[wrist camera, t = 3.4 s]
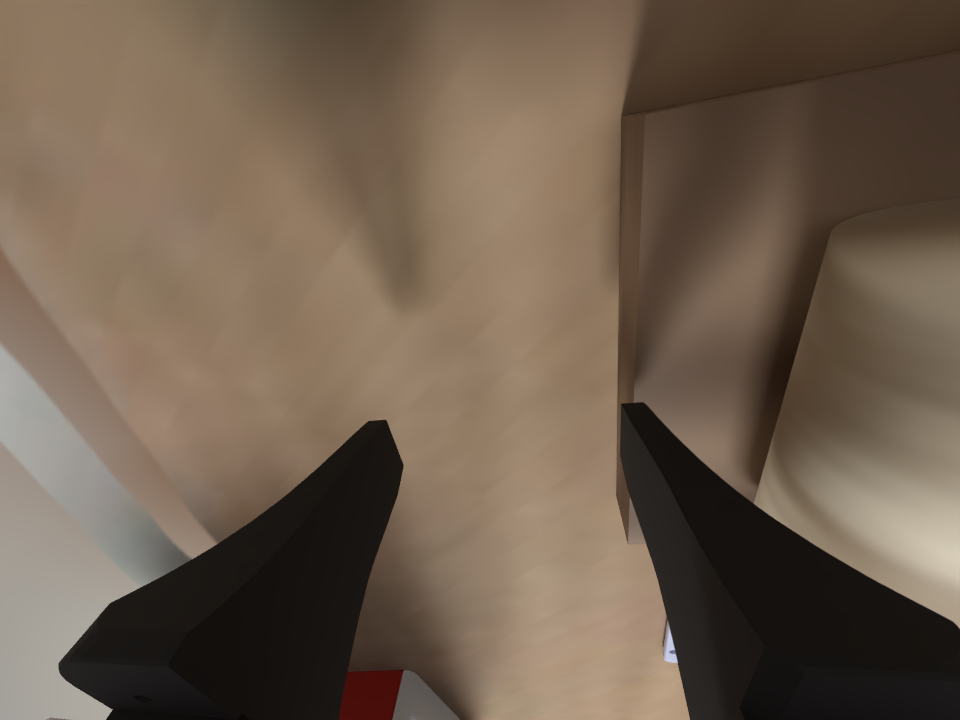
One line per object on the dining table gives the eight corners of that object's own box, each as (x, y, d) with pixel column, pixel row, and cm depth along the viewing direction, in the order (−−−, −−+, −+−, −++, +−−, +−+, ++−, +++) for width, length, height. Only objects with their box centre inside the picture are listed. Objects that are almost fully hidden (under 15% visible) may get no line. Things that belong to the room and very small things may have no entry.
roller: (902, 493, 13) (1133, 721, 8) (713, 498, 14) (816, 703, 9) (1078, 180, 8) (1947, 271, 3) (770, 223, 9) (1057, 342, 4)
